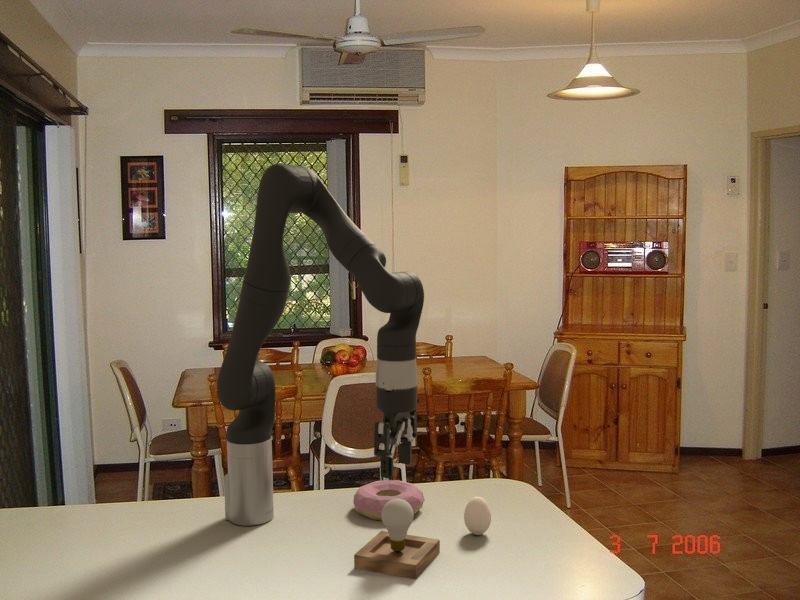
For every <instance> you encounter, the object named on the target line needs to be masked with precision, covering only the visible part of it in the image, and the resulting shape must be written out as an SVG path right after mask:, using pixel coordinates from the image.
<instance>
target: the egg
mask: <svg viewBox="0 0 800 600" xmlns="http://www.w3.org/2000/svg"><path fill="white" fill-rule="evenodd" d="M463 521H464V524H465V528H467V530H468V531H469V532H470V534H472V535H476V536H481V535H483V534H484V533H486V532H487V531H488V529H489V528H490V525H491V522H492V513H491V509H490V506H489V504H488V502H487V501H486V500H485V499H484V498H483V497H480V496H474V497H472V498H470V500H469V501H468V502H467V504H466V506H465V508H464V512H463Z"/></svg>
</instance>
